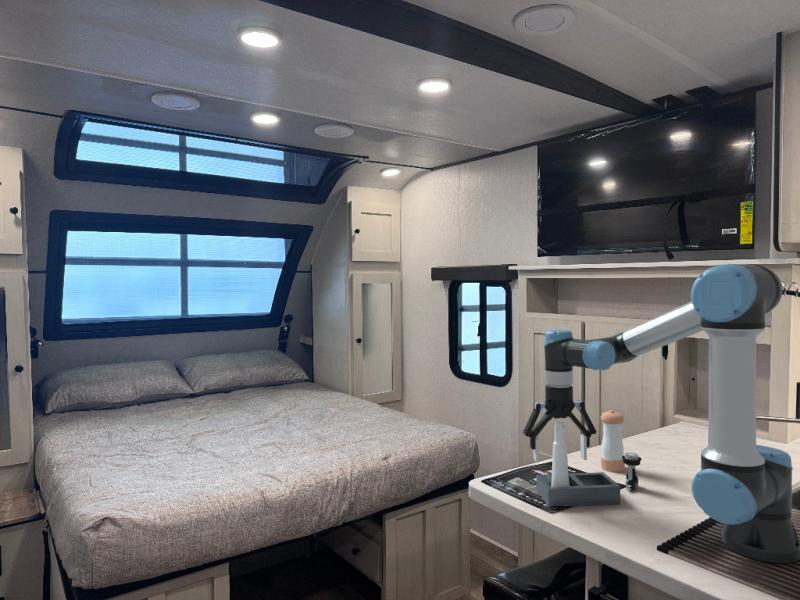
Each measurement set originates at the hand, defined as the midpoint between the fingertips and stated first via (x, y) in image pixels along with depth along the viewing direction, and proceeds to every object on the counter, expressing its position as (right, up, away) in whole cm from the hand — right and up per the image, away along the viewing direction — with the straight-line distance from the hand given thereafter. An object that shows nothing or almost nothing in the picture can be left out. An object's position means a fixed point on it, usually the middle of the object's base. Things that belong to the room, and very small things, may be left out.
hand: (559, 459), depth 153 cm
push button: (+23, -11, +6) cm, 26 cm away
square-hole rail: (+5, -11, +1) cm, 12 cm away
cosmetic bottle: (0, -11, 0) cm, 11 cm away
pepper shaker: (+24, -10, +23) cm, 35 cm away
